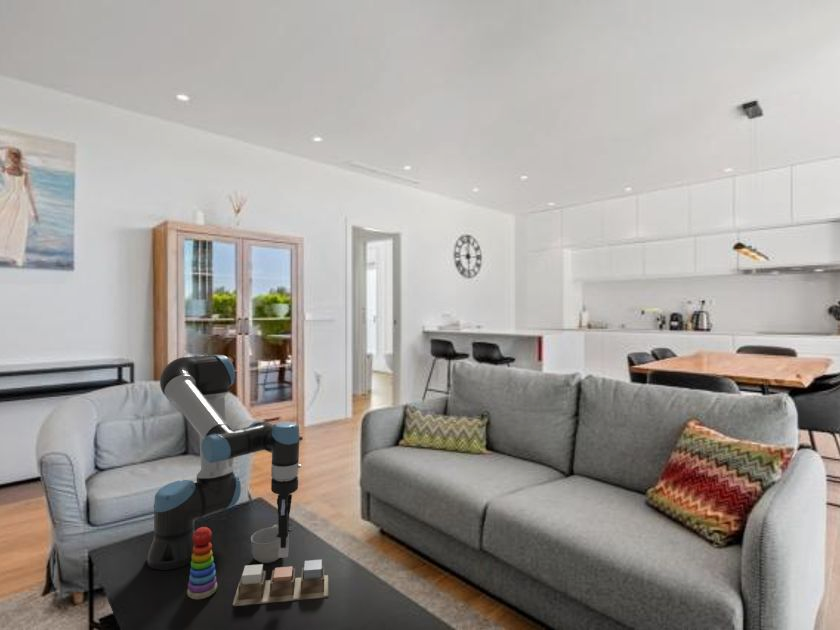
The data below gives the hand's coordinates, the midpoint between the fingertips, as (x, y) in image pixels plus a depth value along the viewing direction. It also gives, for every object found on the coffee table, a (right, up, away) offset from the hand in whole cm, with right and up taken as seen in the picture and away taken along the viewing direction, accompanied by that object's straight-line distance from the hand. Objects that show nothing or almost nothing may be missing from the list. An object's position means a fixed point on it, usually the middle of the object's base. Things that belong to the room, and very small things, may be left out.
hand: (283, 556), depth 138 cm
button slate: (+8, -8, +2) cm, 11 cm away
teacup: (-10, -10, +19) cm, 23 cm away
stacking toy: (-23, -10, -1) cm, 25 cm away
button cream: (-8, -7, -1) cm, 11 cm away
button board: (0, -10, 0) cm, 10 cm away
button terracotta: (0, -9, 0) cm, 9 cm away
